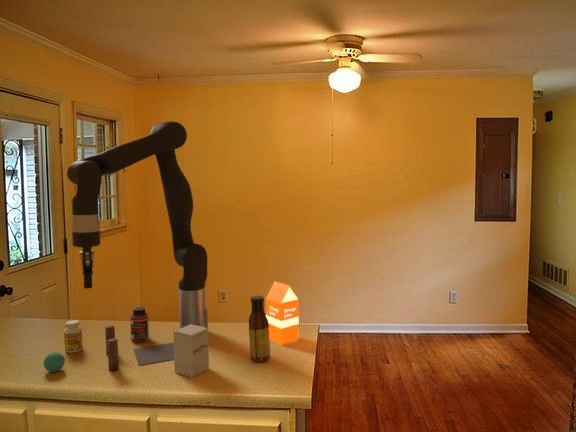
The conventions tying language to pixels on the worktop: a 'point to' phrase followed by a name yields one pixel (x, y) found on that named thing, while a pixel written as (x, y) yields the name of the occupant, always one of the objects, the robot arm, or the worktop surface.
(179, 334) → the supplement box
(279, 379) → the worktop surface
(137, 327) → the supplement bottle
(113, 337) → the post far
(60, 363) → the ball
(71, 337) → the supplement bottle
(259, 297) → the sauce bottle
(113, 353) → the post near
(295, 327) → the orange juice
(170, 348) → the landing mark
